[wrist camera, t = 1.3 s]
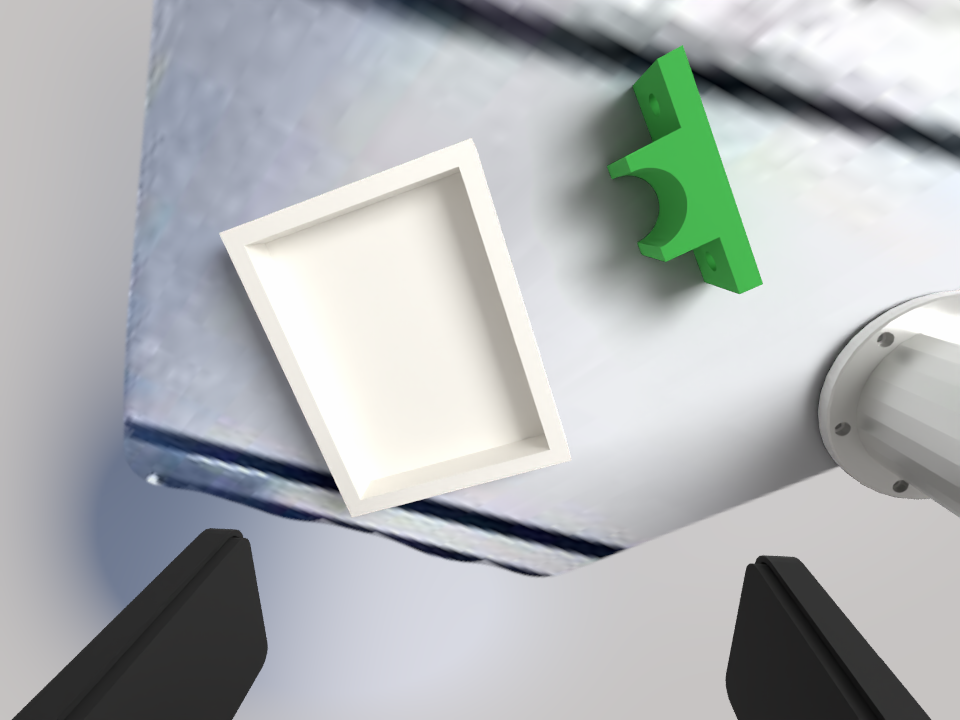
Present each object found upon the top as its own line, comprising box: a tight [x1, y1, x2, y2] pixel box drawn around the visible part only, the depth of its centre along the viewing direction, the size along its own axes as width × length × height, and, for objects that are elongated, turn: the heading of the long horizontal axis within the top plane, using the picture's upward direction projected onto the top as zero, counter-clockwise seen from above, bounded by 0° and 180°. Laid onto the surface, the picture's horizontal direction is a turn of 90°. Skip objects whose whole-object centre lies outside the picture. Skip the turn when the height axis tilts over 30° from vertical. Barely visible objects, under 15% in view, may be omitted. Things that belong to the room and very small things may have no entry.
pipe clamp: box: [607, 45, 763, 294], centre depth 24 cm, size 11×4×5 cm, turn 26°
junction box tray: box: [219, 138, 571, 518], centre depth 27 cm, size 14×18×3 cm
